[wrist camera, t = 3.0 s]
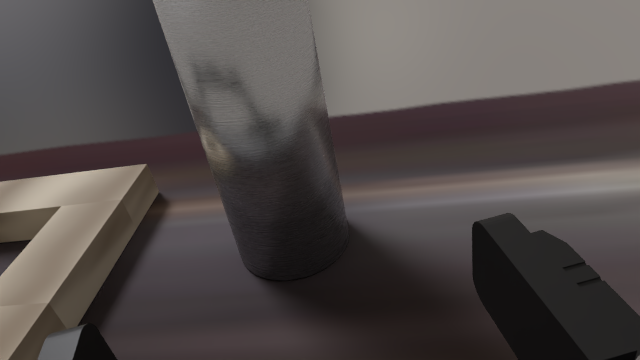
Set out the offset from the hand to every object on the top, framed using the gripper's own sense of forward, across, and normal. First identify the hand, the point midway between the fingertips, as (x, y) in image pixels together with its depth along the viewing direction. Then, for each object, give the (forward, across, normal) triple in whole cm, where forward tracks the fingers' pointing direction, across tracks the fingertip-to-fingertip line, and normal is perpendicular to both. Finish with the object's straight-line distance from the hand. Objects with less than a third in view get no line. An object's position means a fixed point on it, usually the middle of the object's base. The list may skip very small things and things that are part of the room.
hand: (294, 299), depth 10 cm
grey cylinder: (+11, 0, +7) cm, 13 cm away
